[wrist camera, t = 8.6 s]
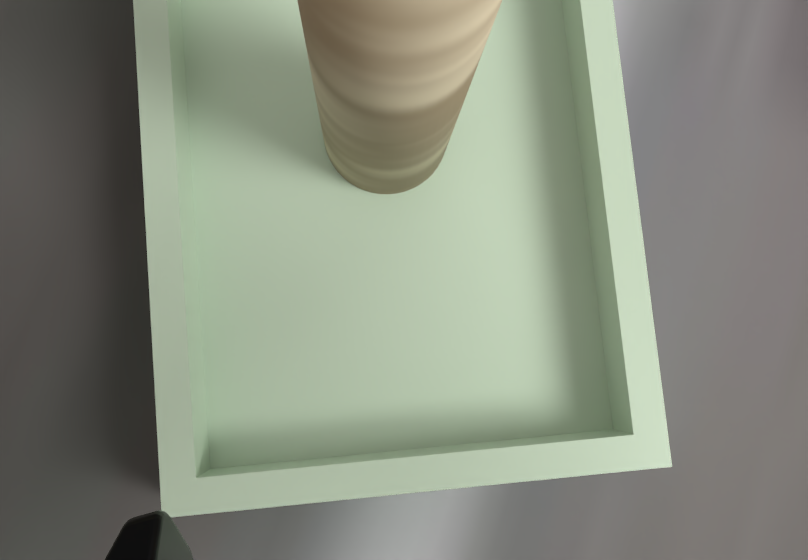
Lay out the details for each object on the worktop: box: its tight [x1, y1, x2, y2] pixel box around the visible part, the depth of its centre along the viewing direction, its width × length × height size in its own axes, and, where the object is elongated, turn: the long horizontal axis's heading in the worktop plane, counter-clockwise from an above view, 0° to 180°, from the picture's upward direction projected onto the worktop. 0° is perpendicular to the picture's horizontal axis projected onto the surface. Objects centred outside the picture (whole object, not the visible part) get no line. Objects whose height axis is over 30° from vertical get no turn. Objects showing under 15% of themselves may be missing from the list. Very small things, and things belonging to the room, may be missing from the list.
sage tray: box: [133, 0, 672, 517], centre depth 19 cm, size 16×12×2 cm
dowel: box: [297, 0, 502, 194], centre depth 13 cm, size 3×3×13 cm
